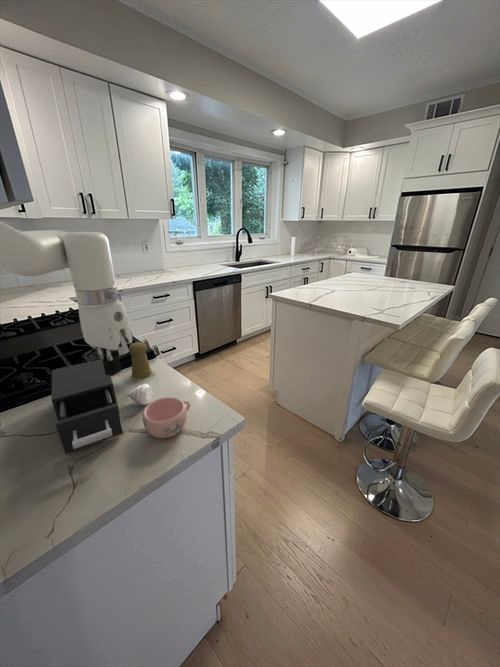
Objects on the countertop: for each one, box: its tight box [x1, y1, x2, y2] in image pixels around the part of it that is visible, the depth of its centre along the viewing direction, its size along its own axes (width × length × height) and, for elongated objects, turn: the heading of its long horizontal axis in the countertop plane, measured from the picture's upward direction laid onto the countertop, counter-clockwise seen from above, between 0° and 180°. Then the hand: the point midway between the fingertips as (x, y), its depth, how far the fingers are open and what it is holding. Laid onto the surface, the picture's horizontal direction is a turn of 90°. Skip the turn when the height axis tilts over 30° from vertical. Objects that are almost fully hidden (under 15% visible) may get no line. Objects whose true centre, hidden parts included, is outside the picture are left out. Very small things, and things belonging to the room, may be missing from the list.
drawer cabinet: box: [51, 358, 120, 421], centre depth 73 cm, size 16×13×10 cm
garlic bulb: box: [126, 383, 153, 406], centre depth 76 cm, size 6×6×5 cm
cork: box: [128, 341, 152, 380], centre depth 88 cm, size 6×6×11 cm
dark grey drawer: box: [55, 388, 124, 455], centre depth 63 cm, size 20×11×8 cm, turn 33°
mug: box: [142, 396, 191, 439], centre depth 67 cm, size 12×10×6 cm
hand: (113, 372), depth 64 cm, fingers closed
